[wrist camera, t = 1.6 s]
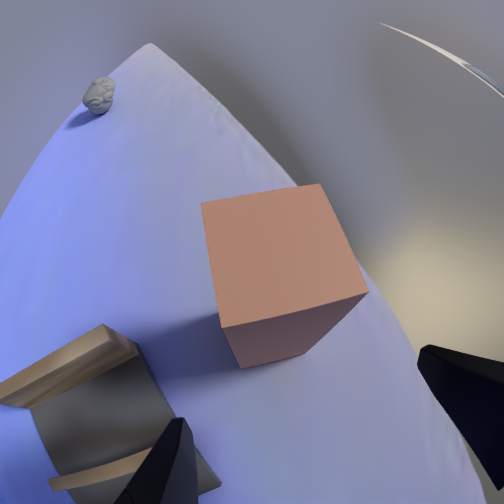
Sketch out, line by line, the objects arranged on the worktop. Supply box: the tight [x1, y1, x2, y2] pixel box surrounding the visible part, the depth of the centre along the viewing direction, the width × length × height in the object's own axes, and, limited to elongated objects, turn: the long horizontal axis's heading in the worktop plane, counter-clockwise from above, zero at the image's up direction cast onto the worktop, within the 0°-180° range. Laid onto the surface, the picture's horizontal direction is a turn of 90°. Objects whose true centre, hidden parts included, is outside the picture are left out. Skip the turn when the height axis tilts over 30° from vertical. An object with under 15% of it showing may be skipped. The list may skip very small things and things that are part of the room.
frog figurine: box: [82, 77, 115, 114], centre depth 37 cm, size 6×7×7 cm
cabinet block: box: [201, 184, 369, 369], centre depth 15 cm, size 6×5×13 cm
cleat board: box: [0, 324, 222, 504], centre depth 13 cm, size 13×14×6 cm
